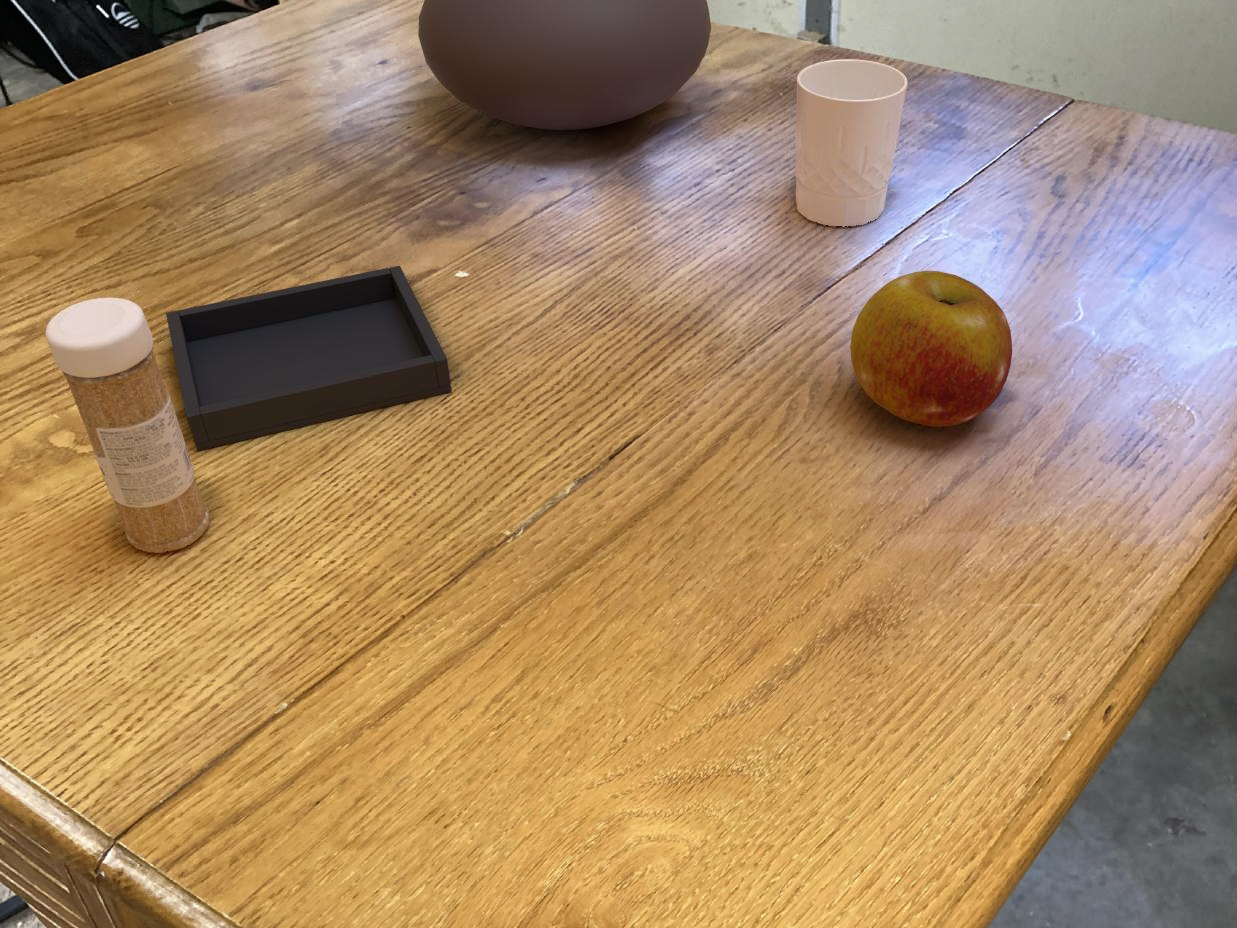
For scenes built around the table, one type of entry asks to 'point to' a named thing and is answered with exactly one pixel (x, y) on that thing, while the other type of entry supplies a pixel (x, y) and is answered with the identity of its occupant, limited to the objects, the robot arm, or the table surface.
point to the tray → (304, 356)
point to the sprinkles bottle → (129, 421)
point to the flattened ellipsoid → (563, 56)
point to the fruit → (932, 348)
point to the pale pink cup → (846, 139)
